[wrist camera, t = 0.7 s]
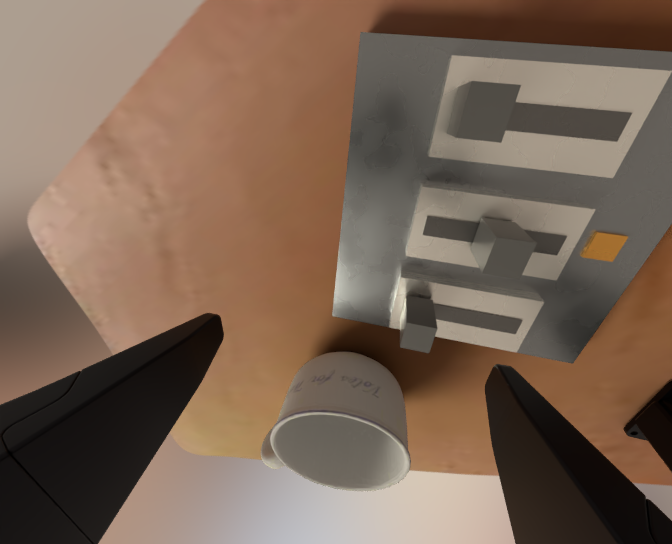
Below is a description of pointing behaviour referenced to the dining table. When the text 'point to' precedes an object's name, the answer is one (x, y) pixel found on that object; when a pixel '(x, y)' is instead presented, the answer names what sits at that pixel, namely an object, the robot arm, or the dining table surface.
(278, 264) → the dining table surface
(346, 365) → the teacup
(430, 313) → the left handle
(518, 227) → the handle
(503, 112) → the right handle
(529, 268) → the breaker panel
